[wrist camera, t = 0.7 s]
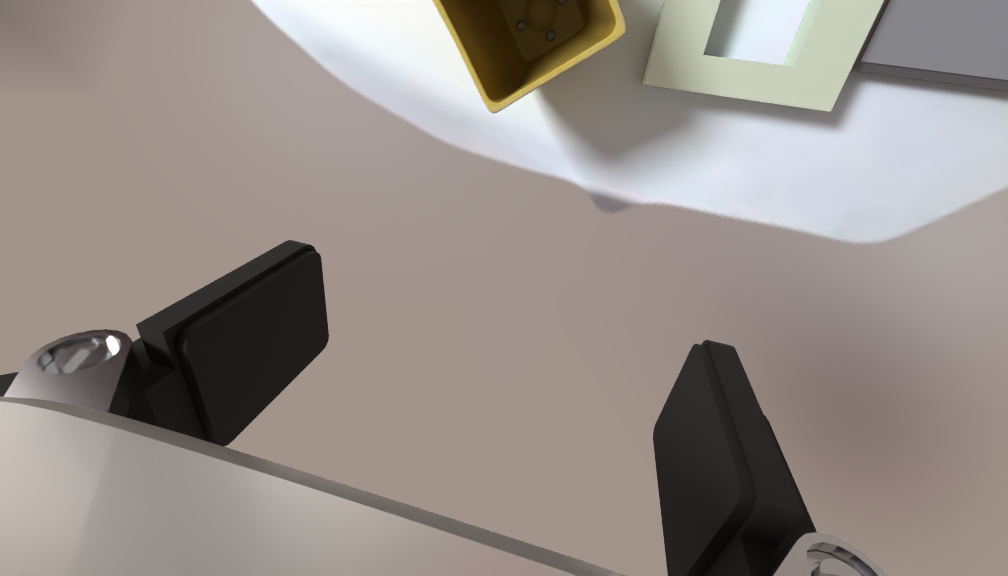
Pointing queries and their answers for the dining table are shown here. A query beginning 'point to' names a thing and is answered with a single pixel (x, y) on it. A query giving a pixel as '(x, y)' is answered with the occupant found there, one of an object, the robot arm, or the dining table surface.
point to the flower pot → (527, 40)
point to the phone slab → (939, 42)
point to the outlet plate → (799, 82)
